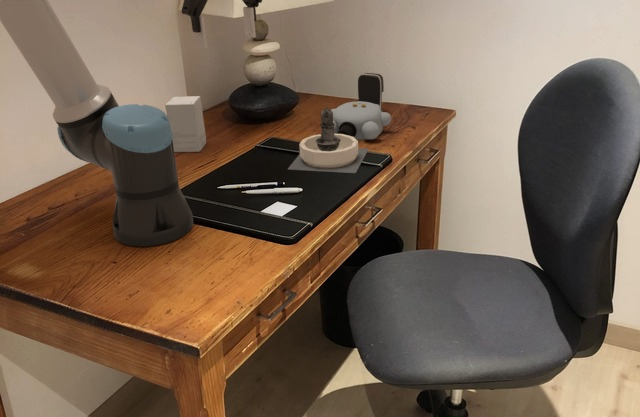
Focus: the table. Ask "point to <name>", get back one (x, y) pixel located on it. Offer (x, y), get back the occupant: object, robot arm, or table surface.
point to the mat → (350, 168)
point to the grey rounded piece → (360, 120)
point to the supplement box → (186, 123)
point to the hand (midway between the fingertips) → (227, 42)
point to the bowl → (329, 152)
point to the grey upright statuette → (327, 132)
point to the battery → (370, 88)
